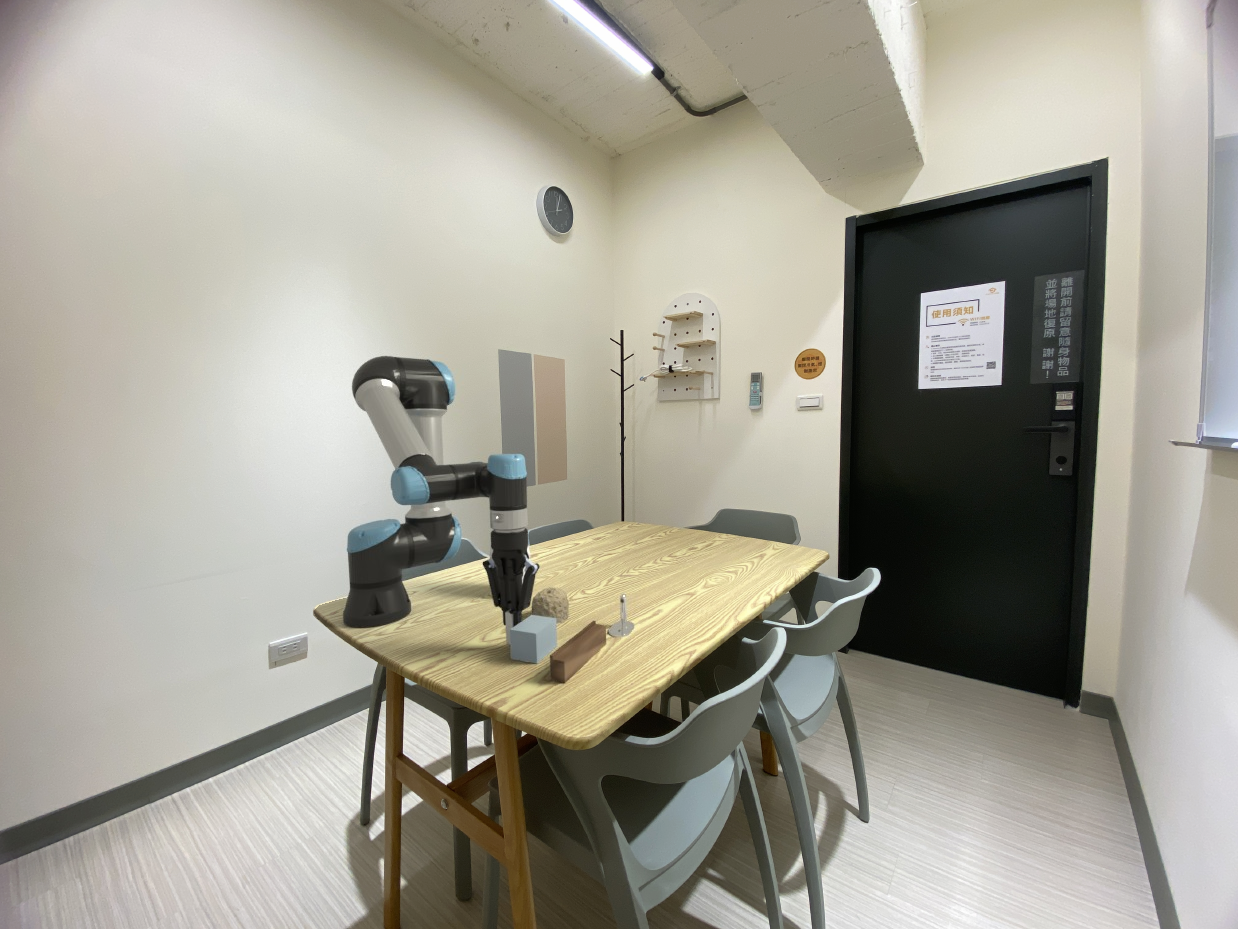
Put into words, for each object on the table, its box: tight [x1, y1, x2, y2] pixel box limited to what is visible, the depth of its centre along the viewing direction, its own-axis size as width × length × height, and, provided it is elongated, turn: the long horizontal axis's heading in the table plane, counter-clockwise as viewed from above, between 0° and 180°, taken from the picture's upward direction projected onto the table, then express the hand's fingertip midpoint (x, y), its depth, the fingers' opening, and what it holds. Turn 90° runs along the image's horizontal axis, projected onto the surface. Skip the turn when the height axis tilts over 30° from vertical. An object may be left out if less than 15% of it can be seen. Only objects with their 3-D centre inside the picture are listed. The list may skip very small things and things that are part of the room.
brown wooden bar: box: [549, 620, 607, 684], centre depth 92 cm, size 3×17×5 cm, turn 156°
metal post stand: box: [608, 593, 635, 638], centre depth 106 cm, size 8×5×8 cm
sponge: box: [530, 586, 570, 625], centre depth 114 cm, size 9×10×10 cm
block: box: [509, 614, 558, 665], centre depth 96 cm, size 6×8×6 cm
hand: (513, 640), depth 98 cm, fingers closed
